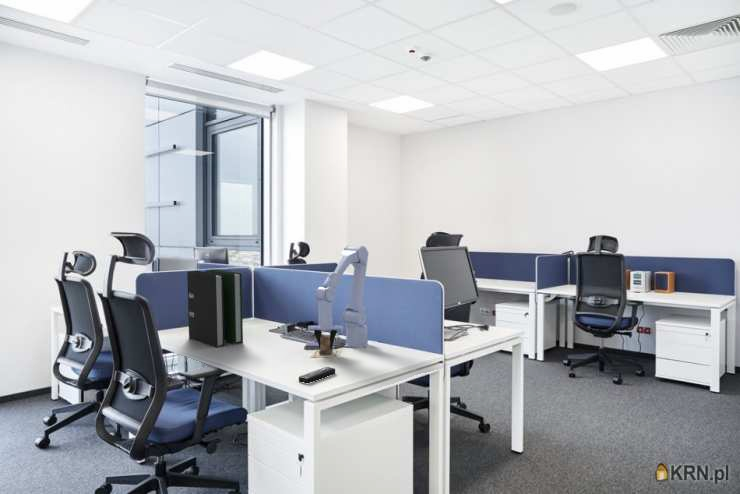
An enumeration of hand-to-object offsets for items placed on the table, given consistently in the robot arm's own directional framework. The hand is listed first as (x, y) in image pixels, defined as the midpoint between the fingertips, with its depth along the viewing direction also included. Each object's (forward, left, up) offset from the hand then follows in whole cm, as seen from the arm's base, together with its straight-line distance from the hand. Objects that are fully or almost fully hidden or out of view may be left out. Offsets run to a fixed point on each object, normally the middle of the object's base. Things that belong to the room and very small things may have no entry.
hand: (325, 348), depth 207 cm
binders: (+55, -22, -2) cm, 60 cm away
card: (0, 0, -2) cm, 2 cm away
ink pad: (+7, -10, -2) cm, 12 cm away
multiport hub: (-2, +32, -3) cm, 32 cm away
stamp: (0, 0, -2) cm, 2 cm away
